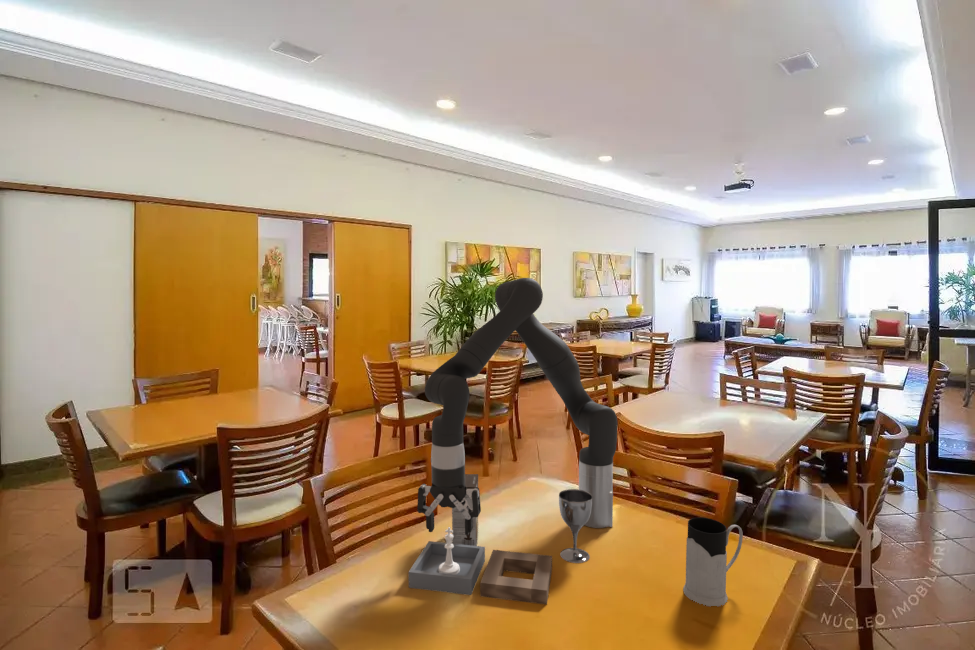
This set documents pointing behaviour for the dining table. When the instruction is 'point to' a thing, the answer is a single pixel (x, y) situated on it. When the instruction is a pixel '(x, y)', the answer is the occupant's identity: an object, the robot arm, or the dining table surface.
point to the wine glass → (575, 520)
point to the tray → (430, 579)
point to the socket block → (516, 587)
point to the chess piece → (449, 557)
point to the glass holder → (708, 561)
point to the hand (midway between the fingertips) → (449, 532)
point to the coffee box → (459, 518)
